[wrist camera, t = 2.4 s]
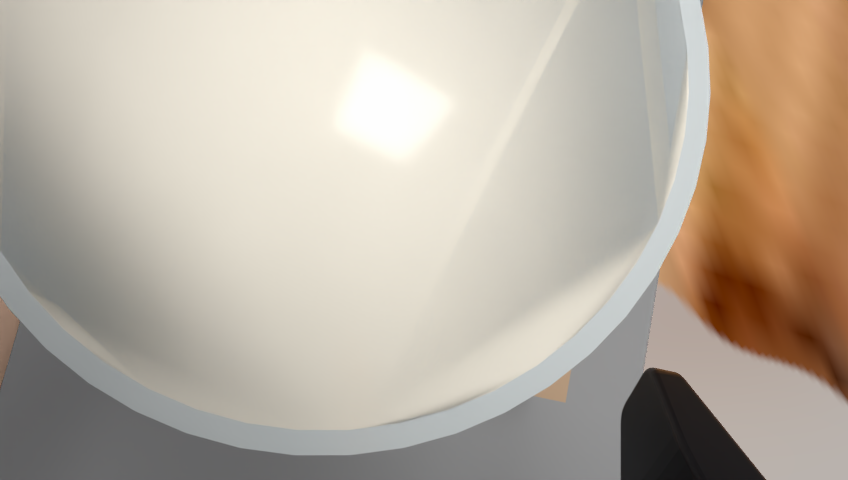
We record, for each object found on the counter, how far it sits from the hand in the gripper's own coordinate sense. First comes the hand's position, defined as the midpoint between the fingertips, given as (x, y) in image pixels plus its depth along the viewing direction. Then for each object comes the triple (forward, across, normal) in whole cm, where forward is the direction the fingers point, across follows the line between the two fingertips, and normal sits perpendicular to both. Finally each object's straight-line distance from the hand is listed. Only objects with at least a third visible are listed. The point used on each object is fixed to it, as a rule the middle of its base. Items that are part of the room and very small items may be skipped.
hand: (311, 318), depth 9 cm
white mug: (+8, 0, +4) cm, 9 cm away
